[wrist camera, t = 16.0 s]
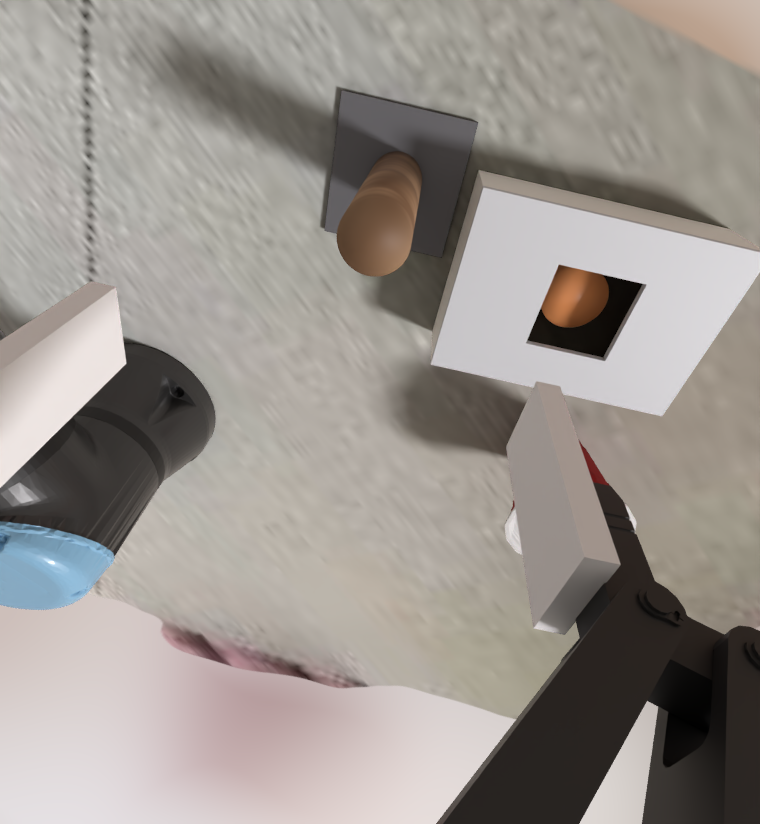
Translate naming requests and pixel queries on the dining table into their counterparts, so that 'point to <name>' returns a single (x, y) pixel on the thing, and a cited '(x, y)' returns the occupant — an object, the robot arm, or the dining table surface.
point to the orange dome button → (575, 297)
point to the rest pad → (412, 134)
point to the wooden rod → (382, 216)
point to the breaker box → (596, 252)
